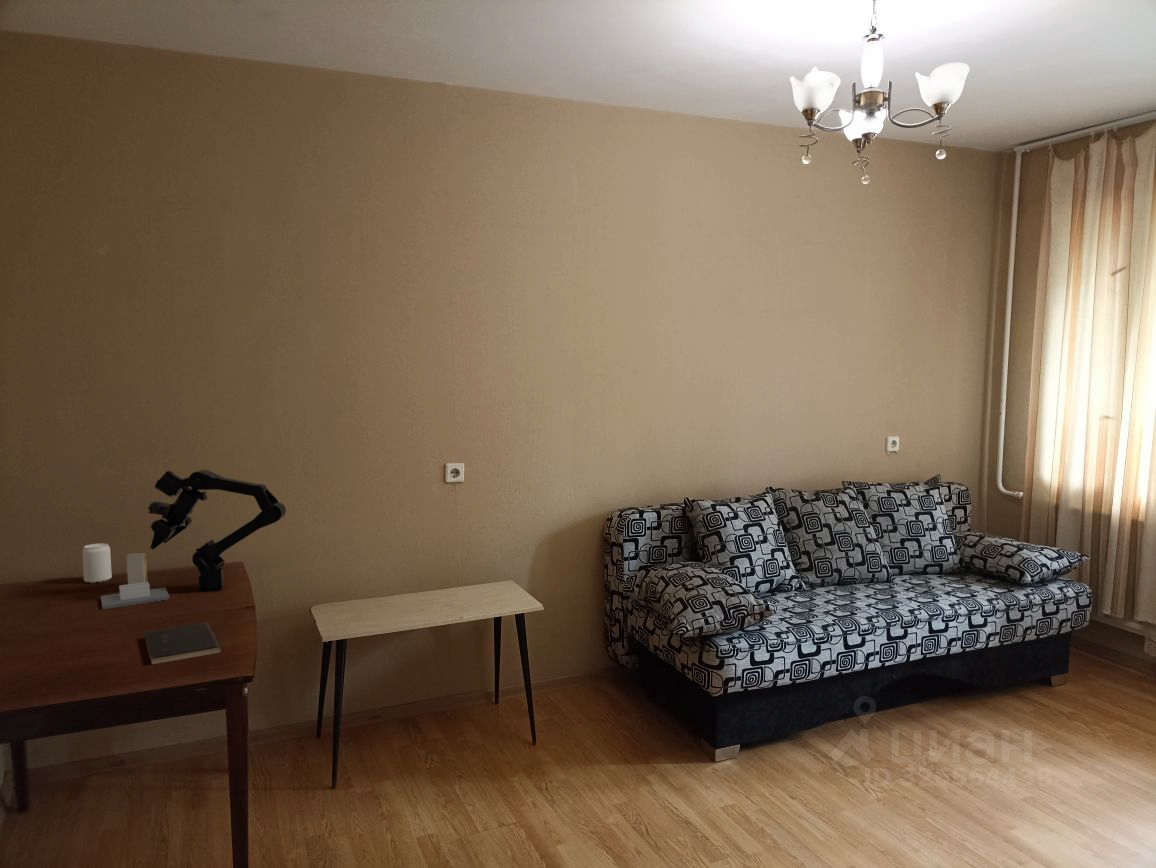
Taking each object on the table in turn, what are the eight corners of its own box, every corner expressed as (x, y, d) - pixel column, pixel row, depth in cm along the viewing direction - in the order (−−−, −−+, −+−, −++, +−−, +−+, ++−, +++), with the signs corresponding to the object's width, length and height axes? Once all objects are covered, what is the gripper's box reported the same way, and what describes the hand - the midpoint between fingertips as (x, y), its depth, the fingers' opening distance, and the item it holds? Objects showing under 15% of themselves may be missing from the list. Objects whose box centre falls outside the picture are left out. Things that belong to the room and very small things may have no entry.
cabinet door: (149, 589, 264) (147, 553, 263) (146, 591, 262) (144, 554, 261) (128, 590, 264) (126, 553, 263) (124, 591, 262) (123, 555, 261)
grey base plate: (165, 590, 263) (164, 576, 263) (169, 599, 252) (169, 585, 252) (100, 599, 254) (99, 584, 253) (102, 609, 243) (101, 594, 242)
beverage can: (116, 579, 278) (114, 544, 277) (92, 584, 271) (90, 549, 270) (103, 576, 282) (101, 542, 281) (79, 581, 275) (77, 546, 274)
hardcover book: (150, 667, 196) (149, 658, 196) (143, 640, 216) (143, 632, 216) (222, 654, 205) (221, 645, 204) (209, 630, 224) (209, 621, 224)
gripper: (172, 487, 270) (147, 526, 270) (149, 496, 251) (122, 538, 251) (202, 505, 271) (177, 544, 271) (181, 515, 253) (154, 557, 253)
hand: (157, 545), depth 262 cm, fingers open, 9 cm apart
